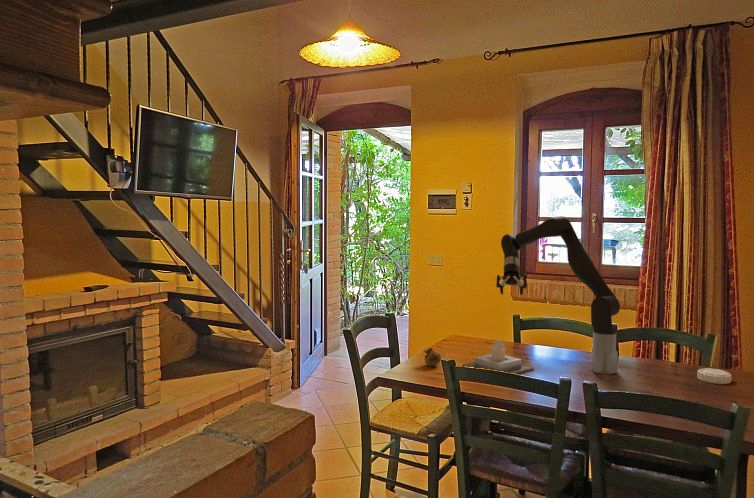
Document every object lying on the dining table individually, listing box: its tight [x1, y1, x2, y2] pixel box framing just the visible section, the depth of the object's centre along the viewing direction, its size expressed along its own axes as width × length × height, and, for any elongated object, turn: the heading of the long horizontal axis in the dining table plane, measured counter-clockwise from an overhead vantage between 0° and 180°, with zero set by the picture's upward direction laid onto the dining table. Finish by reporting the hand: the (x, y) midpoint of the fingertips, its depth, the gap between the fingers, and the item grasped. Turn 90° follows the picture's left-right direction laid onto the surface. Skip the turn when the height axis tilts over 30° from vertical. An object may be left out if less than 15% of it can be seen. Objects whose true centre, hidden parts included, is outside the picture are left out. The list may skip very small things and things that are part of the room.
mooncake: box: [696, 367, 732, 385], centre depth 223 cm, size 12×12×4 cm
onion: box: [423, 347, 442, 367], centre depth 244 cm, size 8×8×8 cm
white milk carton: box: [491, 339, 506, 362], centre depth 240 cm, size 6×12×6 cm
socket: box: [461, 353, 535, 375], centre depth 240 cm, size 22×22×4 cm
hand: (511, 294), depth 256 cm, fingers open, 8 cm apart
